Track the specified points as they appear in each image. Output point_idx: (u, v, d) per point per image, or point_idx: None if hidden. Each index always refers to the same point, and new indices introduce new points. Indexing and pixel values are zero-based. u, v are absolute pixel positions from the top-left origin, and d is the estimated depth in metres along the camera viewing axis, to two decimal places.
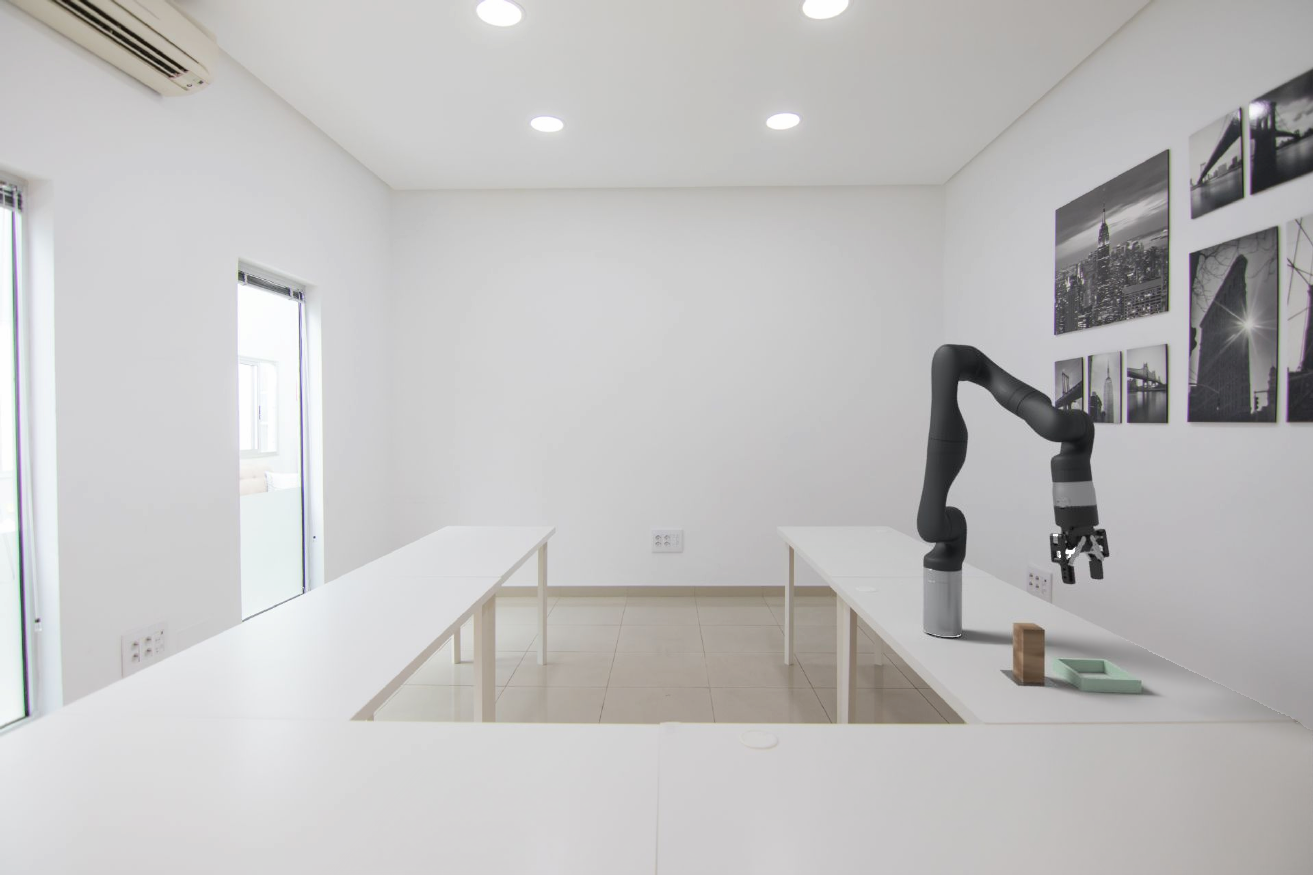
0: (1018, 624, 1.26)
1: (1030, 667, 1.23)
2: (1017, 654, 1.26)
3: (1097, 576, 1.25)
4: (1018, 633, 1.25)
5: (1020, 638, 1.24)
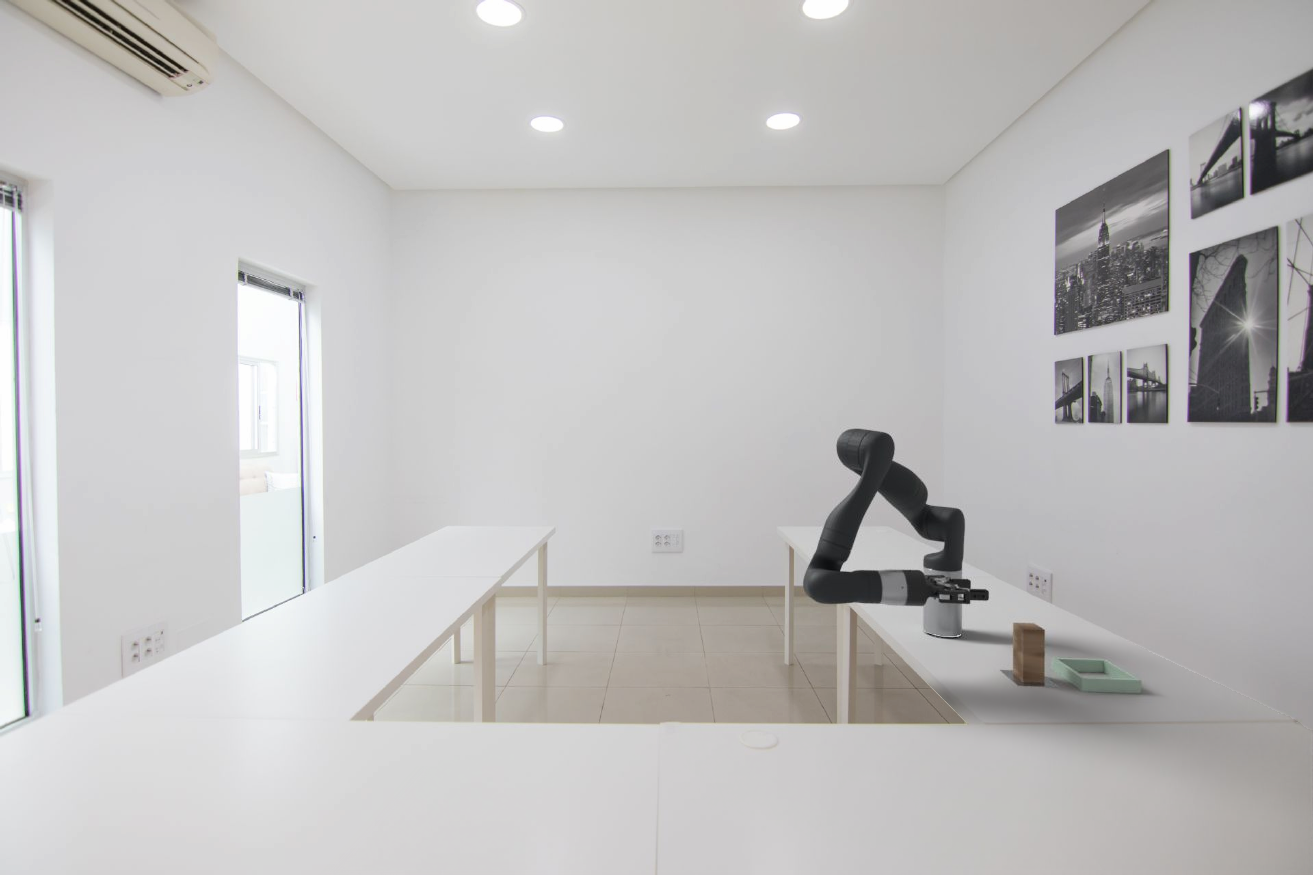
0: (1018, 624, 1.26)
1: (1030, 667, 1.23)
2: (1017, 654, 1.26)
3: None
4: (1018, 633, 1.25)
5: (1020, 638, 1.24)
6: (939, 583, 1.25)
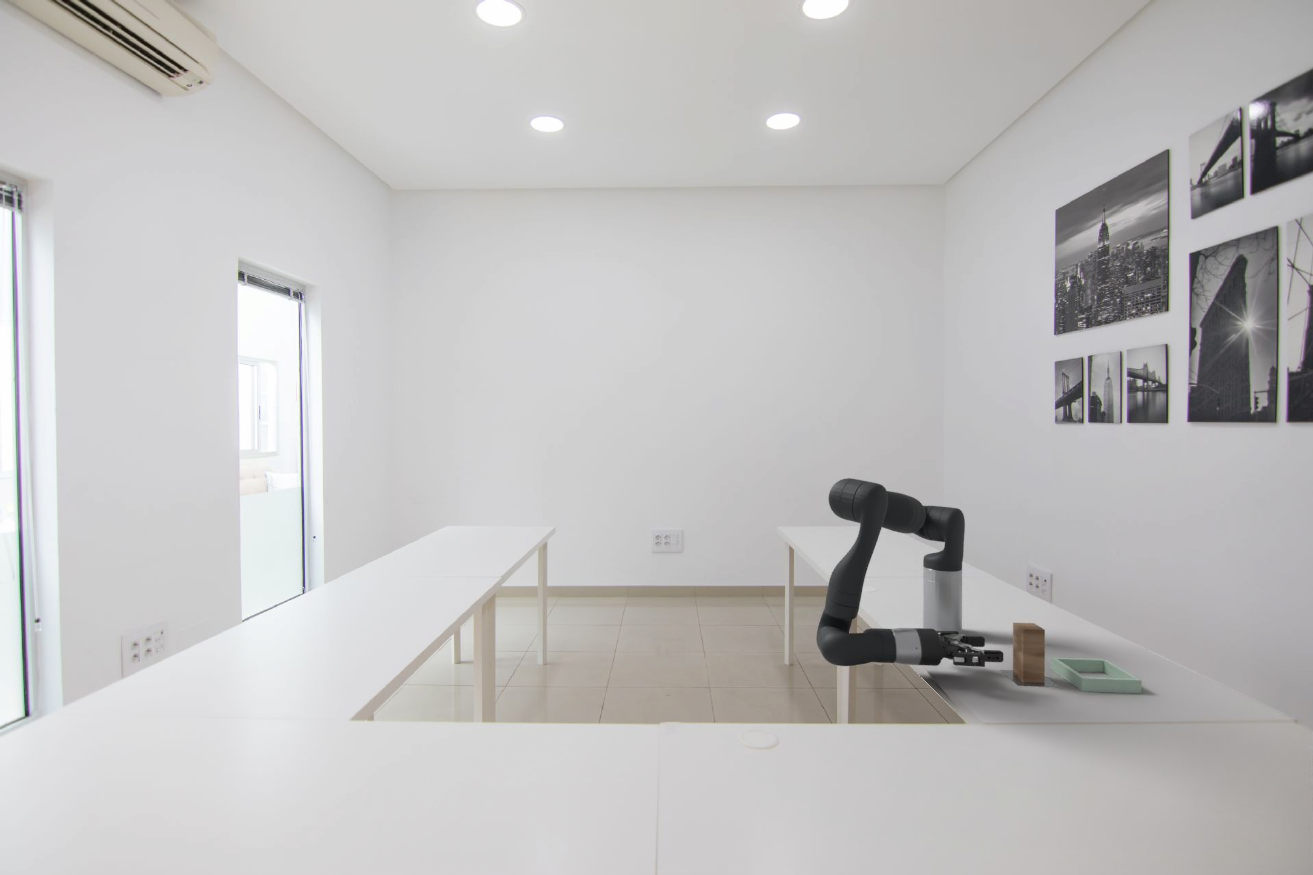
0: (1018, 624, 1.26)
1: (1030, 667, 1.23)
2: (1017, 654, 1.26)
3: None
4: (1018, 633, 1.25)
5: (1020, 638, 1.24)
6: (953, 643, 1.25)
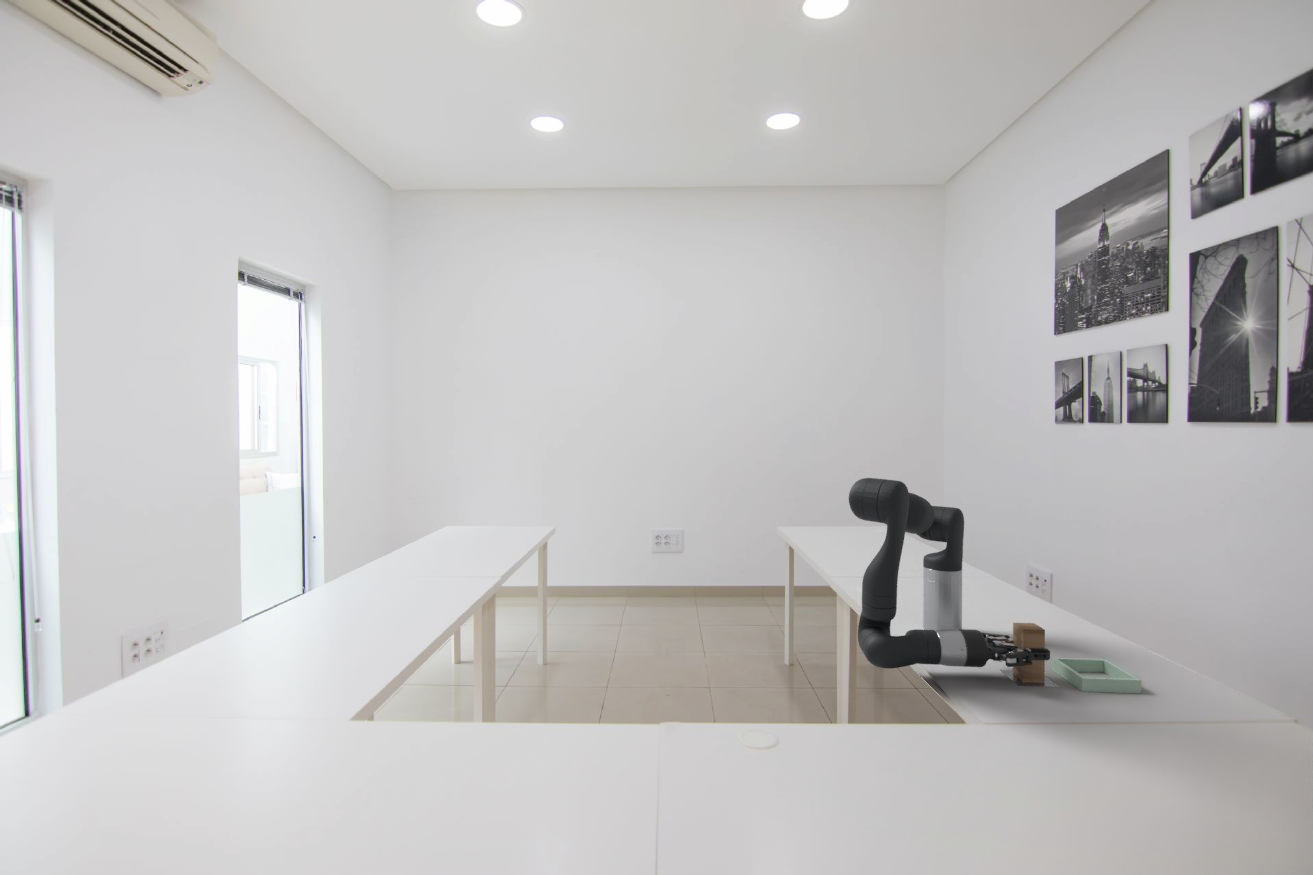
0: (1018, 624, 1.26)
1: (1030, 667, 1.23)
2: None
3: None
4: (1018, 633, 1.25)
5: (1020, 638, 1.24)
6: (1000, 644, 1.24)
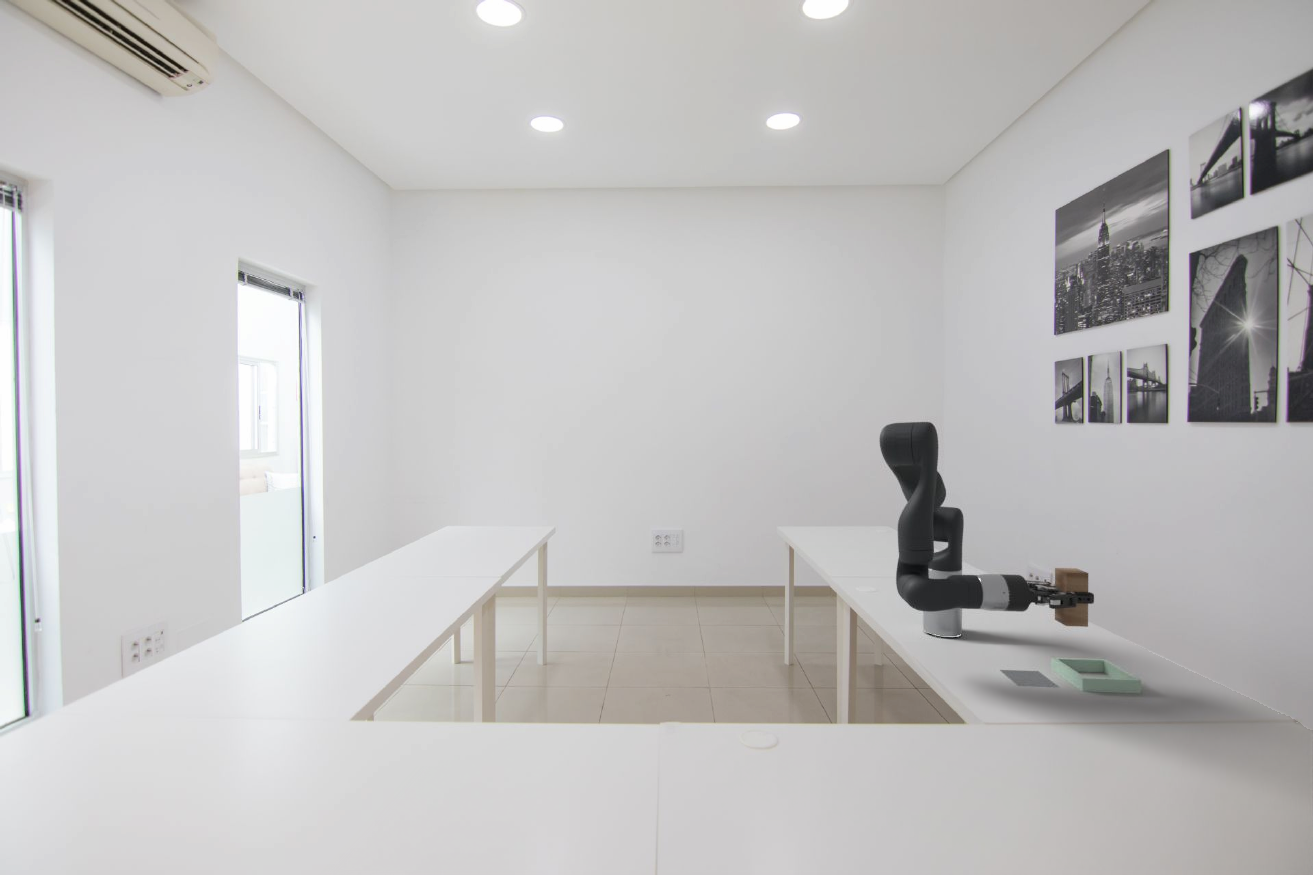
0: (1060, 569, 1.25)
1: (1073, 611, 1.22)
2: None
3: None
4: (1060, 577, 1.24)
5: (1063, 582, 1.23)
6: (1043, 588, 1.23)
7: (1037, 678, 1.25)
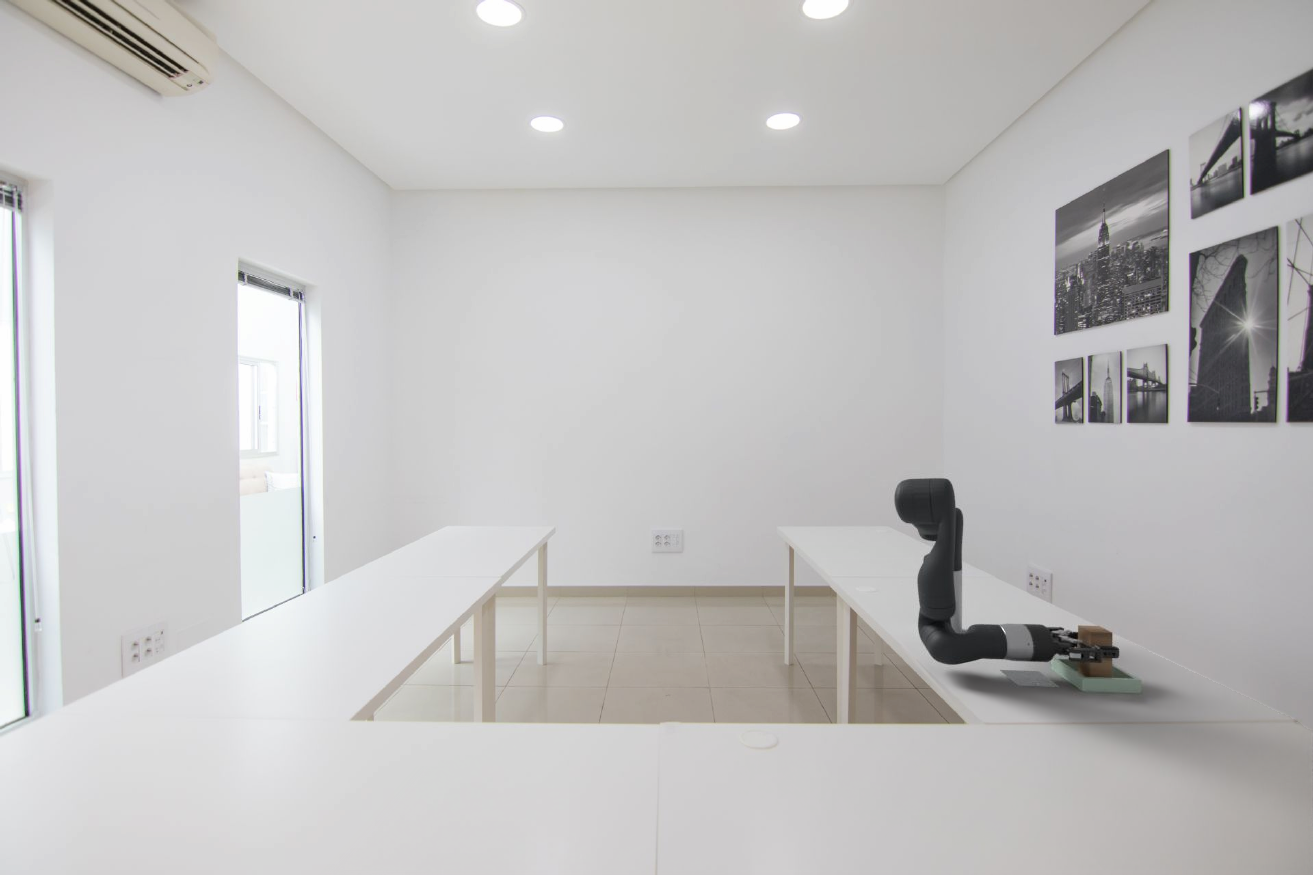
0: (1084, 627, 1.25)
1: (1097, 670, 1.22)
2: None
3: None
4: (1084, 636, 1.24)
5: (1087, 641, 1.23)
6: (1065, 639, 1.23)
7: (1037, 678, 1.25)
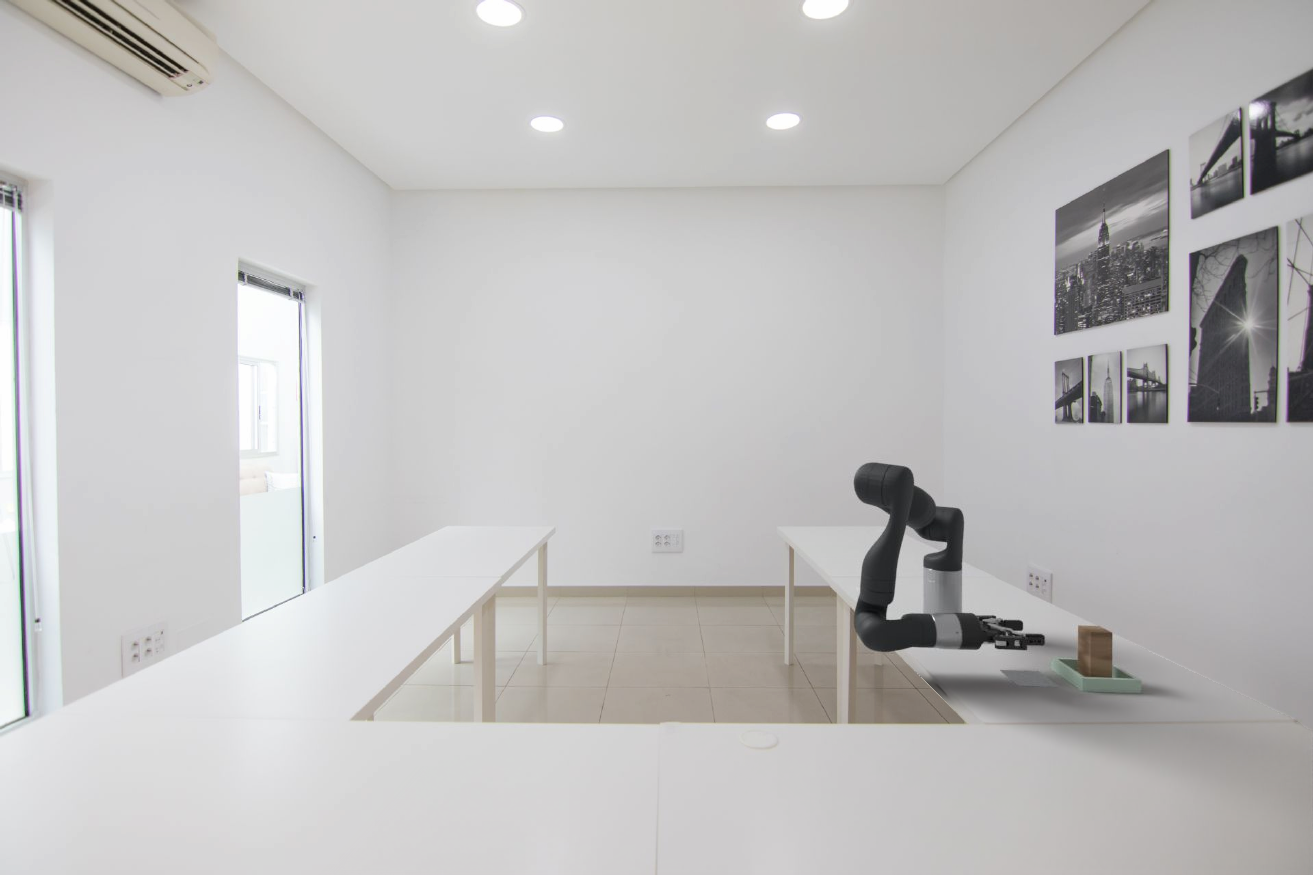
0: (1084, 627, 1.25)
1: (1097, 670, 1.22)
2: (1083, 657, 1.24)
3: None
4: (1084, 636, 1.24)
5: (1087, 641, 1.23)
6: (994, 627, 1.24)
7: (1037, 678, 1.25)
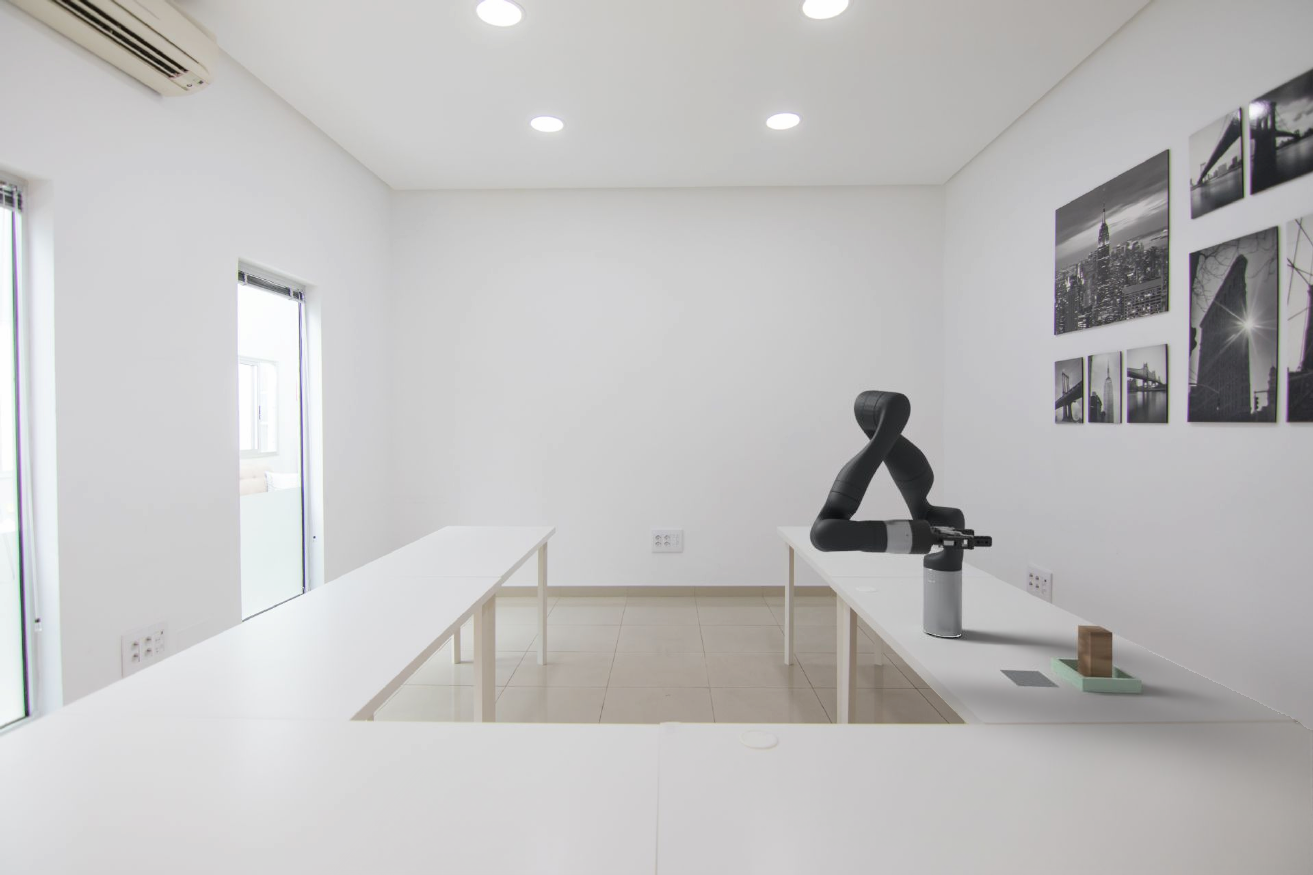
0: (1084, 627, 1.25)
1: (1097, 670, 1.22)
2: (1083, 657, 1.24)
3: None
4: (1084, 636, 1.24)
5: (1087, 641, 1.23)
6: (943, 531, 1.27)
7: (1037, 678, 1.25)
